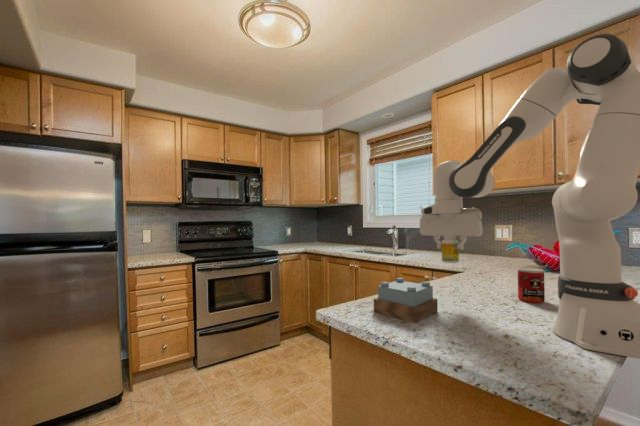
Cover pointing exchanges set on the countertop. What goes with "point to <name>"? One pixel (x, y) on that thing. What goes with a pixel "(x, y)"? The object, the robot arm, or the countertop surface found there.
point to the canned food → (531, 285)
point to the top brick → (405, 292)
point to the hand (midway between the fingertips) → (450, 249)
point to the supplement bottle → (450, 249)
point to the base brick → (406, 309)
